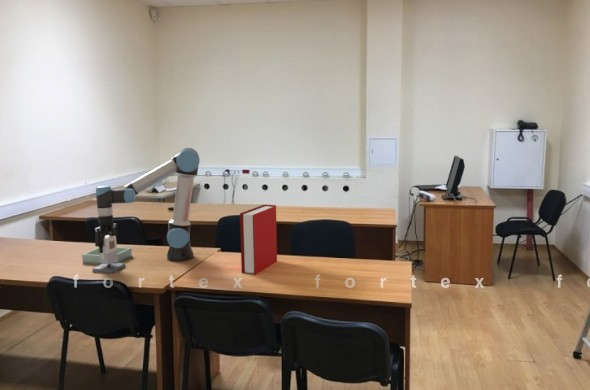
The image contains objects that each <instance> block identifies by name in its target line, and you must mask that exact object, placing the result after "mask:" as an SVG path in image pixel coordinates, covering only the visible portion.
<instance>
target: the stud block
mask: <svg viewBox="0 0 590 390" xmlns="http://www.w3.org/2000/svg"><path fill="white" fill-rule="evenodd" d="M124 268H126V262H125V263H124V262H119V263H111V264H104V263H103V264H98V265H96V266H95V267H93V268H92V273H101V274H114V273H116V272H118V271H120V270H121V269H124Z"/></svg>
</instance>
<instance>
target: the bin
mask: <svg viewBox="0 0 590 390" xmlns="http://www.w3.org/2000/svg"><path fill="white" fill-rule="evenodd" d="M117 256H118V261H117V262H114V263H122V262H124V261H126V260H127V259H130V258H132V257H133V252H132V247H119V246H117ZM81 258H82V259H81V260H82V264H90V265H101V264H103V263H100V254H99V247H97V248H95V249H91V250H89V251H87V252H85V253H82V254H81Z"/></svg>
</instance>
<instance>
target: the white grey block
mask: <svg viewBox="0 0 590 390" xmlns="http://www.w3.org/2000/svg"><path fill="white" fill-rule="evenodd" d="M103 247H105V259H102V258H101V253H100V252H99V254H100V263H104V264H111V263H114V262H117V261H118V256H117V247H118V243H116V236H109V234H106V235H105V238H104V244H103Z"/></svg>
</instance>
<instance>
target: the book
mask: <svg viewBox="0 0 590 390" xmlns="http://www.w3.org/2000/svg"><path fill="white" fill-rule="evenodd" d="M239 226H240V228H239V229H240V231H239V233H240V234H239V235H240V256H241V257H240V259H241V260H240V261H241V274H243V273H249V274H253V275H255V276H256V275H258V274H259V273H261V272H262V271H265V270H266V269H267V268H269V267H271V266H273V265H274V264H276V263H277V262H278V248H277V247H278V243H277V242H278V239H277V238H278V237H277V234H278V233H277V206H276V204H262V205H258V206H256V207H254V208H251V209H248V210H245V211H243V212H242V211H241V212H240V213H239Z"/></svg>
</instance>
